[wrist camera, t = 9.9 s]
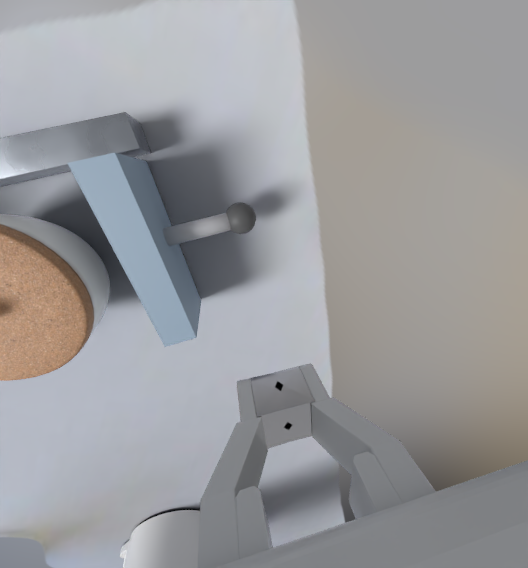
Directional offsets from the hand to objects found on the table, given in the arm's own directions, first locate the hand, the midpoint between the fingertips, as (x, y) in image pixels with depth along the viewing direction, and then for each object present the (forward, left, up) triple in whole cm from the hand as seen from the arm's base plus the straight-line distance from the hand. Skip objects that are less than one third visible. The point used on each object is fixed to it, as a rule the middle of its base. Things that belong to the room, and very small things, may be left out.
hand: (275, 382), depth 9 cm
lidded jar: (+4, +15, -16) cm, 22 cm away
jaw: (+3, +3, -15) cm, 16 cm away
